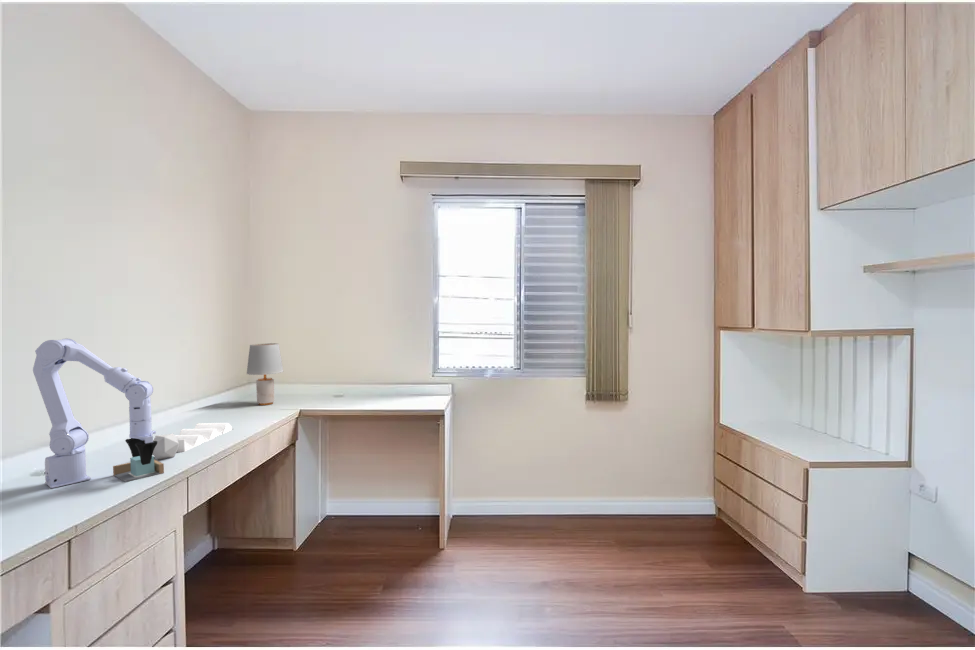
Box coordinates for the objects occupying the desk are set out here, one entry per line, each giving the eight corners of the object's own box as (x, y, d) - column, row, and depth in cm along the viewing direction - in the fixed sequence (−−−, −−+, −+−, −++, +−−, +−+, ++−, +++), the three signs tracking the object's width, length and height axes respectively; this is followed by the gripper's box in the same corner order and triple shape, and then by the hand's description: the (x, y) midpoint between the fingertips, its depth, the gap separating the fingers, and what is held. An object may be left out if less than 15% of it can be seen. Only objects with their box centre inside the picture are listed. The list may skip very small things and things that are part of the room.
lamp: (290, 401, 284) (289, 343, 283) (271, 407, 266) (269, 345, 265) (261, 400, 288) (259, 343, 287) (240, 406, 269) (238, 345, 268)
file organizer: (233, 430, 217) (233, 419, 217) (184, 453, 182) (184, 439, 182) (204, 431, 217) (204, 419, 217) (149, 454, 182) (149, 440, 182)
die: (181, 454, 181) (163, 433, 180) (188, 445, 176) (170, 424, 175) (158, 468, 174) (140, 447, 173) (166, 460, 169) (147, 438, 168)
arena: (124, 482, 149) (124, 472, 149) (113, 475, 156) (113, 466, 156) (163, 472, 157) (163, 463, 157) (151, 466, 164) (151, 457, 164)
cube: (154, 472, 157) (154, 456, 157) (136, 476, 153) (135, 460, 153) (149, 469, 160) (148, 454, 160) (130, 473, 156) (130, 457, 156)
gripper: (163, 420, 155) (164, 462, 155) (146, 414, 164) (148, 455, 164) (137, 424, 149) (138, 468, 150) (121, 418, 158) (122, 460, 158)
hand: (141, 461), depth 156 cm, fingers open, 7 cm apart
